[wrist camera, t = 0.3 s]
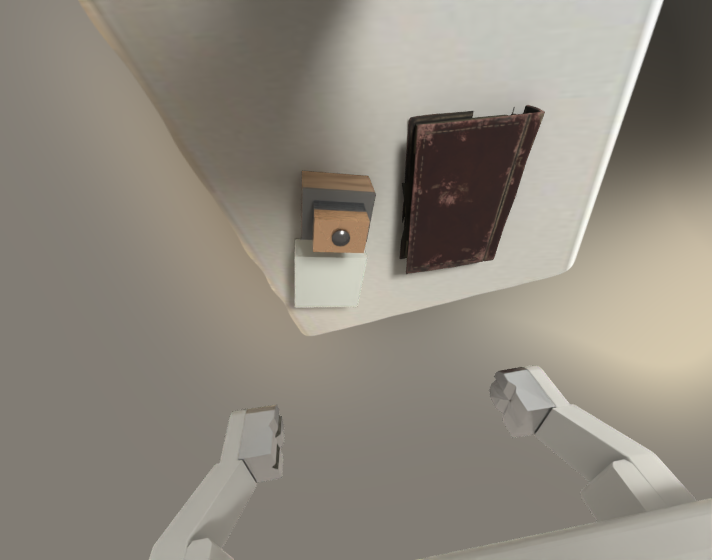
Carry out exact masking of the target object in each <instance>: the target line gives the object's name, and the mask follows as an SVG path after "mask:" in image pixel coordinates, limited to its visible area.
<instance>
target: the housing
mask: <svg viewBox="0 0 712 560" xmlns="http://www.w3.org/2000/svg"><path fill="white" fill-rule="evenodd" d="M369 223H370V221H369V218H368V215H367V212H366V209H365V206H364V203H352V202H335V201H319V200H313V220H312V241H313V252H337V253H364V249H365V244H366V239H367V234H368V229H369Z"/></svg>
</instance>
